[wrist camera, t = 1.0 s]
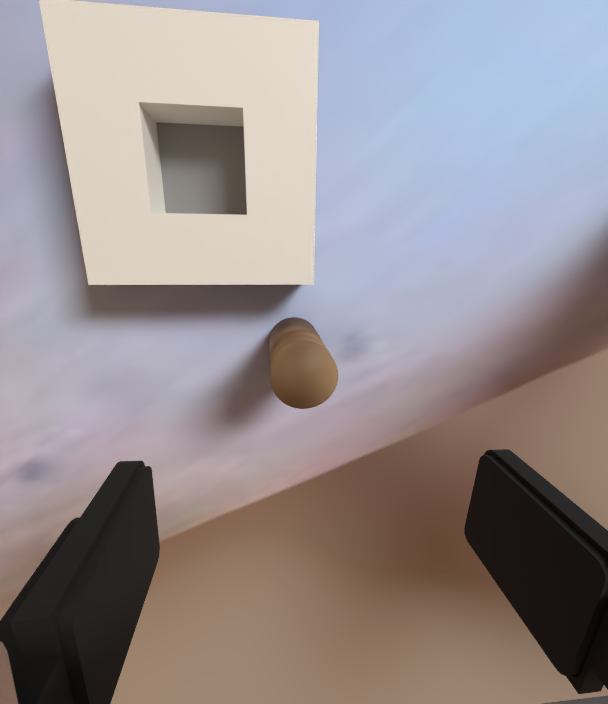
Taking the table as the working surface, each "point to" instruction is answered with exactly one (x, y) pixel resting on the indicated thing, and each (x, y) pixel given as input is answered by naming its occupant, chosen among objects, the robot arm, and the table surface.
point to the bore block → (188, 142)
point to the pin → (300, 364)
